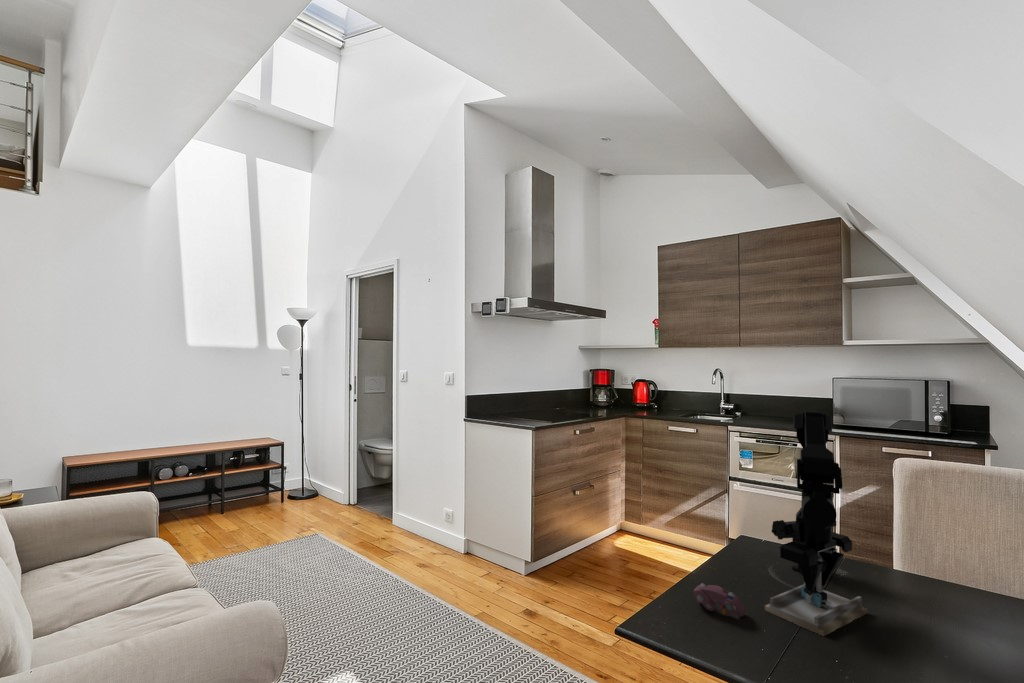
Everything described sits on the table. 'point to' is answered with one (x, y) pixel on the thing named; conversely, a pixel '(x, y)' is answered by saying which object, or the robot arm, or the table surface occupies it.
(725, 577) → the table surface
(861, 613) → the rail board
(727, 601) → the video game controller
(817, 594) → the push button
